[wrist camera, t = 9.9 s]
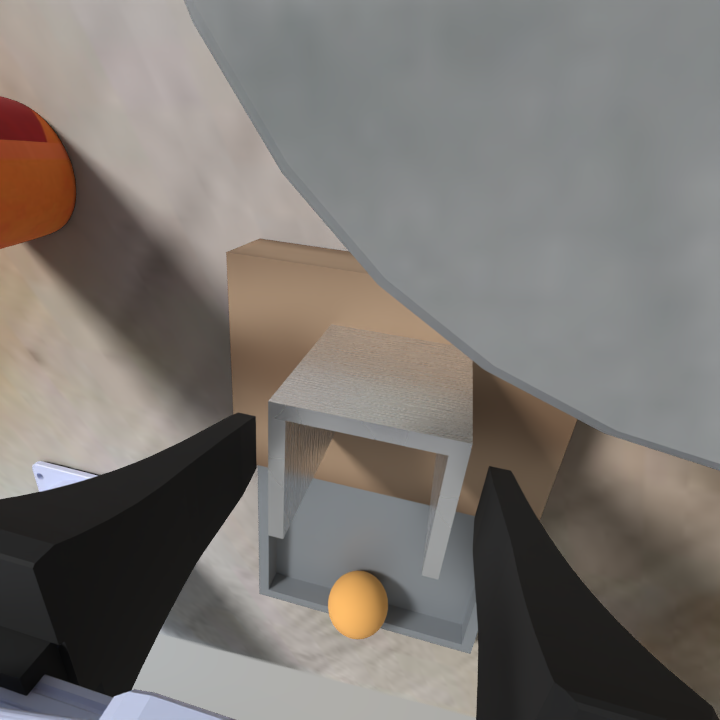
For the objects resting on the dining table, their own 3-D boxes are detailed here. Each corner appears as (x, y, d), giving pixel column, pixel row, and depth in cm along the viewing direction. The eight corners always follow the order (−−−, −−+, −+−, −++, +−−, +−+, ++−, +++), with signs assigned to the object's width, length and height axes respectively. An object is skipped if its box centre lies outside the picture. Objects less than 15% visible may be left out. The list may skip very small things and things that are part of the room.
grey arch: (448, 456, 18) (438, 579, 13) (324, 430, 19) (268, 535, 14) (472, 348, 16) (472, 443, 11) (331, 324, 17) (268, 401, 12)
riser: (528, 484, 22) (535, 530, 19) (261, 425, 24) (235, 459, 21) (594, 287, 17) (617, 311, 15) (259, 238, 19) (226, 252, 17)
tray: (470, 627, 27) (470, 653, 25) (270, 572, 29) (259, 593, 27) (516, 486, 22) (519, 509, 20) (270, 432, 24) (257, 449, 22)
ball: (390, 602, 23) (396, 570, 26) (329, 581, 23) (342, 552, 27) (375, 662, 23) (383, 623, 26) (314, 641, 24) (330, 605, 27)
